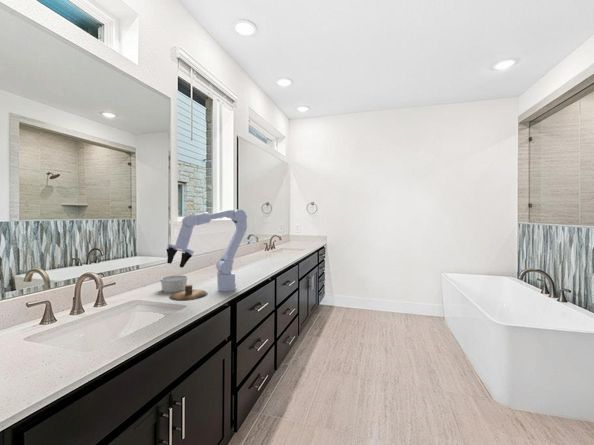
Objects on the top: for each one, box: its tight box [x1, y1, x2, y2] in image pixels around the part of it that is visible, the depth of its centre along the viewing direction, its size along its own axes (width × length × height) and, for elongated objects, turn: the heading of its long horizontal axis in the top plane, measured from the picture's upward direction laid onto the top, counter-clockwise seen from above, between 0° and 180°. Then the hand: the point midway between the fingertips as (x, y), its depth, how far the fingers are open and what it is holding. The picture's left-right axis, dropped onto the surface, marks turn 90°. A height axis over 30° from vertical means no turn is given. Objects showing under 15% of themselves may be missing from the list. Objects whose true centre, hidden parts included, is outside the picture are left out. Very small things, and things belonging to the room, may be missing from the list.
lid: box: [170, 284, 207, 301], centre depth 140 cm, size 16×16×5 cm
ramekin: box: [160, 274, 188, 293], centre depth 152 cm, size 13×13×7 cm
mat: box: [168, 291, 209, 302], centre depth 140 cm, size 18×18×1 cm
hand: (175, 265), depth 140 cm, fingers open, 7 cm apart
